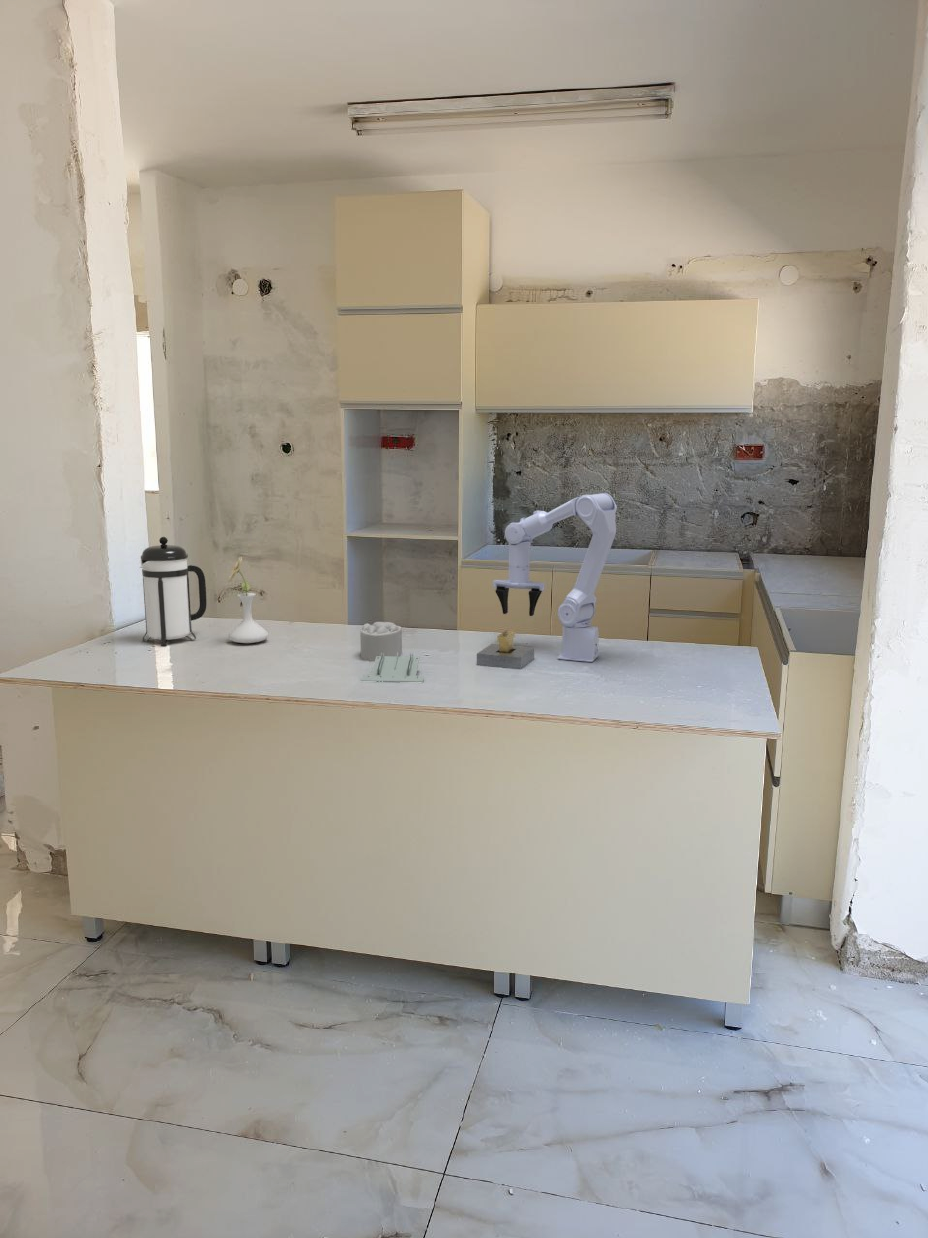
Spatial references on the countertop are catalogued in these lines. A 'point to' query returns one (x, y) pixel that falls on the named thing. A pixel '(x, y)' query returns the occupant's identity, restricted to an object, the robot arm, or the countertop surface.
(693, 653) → the countertop surface
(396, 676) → the metal bracket
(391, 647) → the lumpy-topped squat cylinder
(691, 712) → the countertop surface
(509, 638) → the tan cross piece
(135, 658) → the countertop surface
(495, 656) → the metal plate with slot
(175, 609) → the coffee press
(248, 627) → the flower in vase
